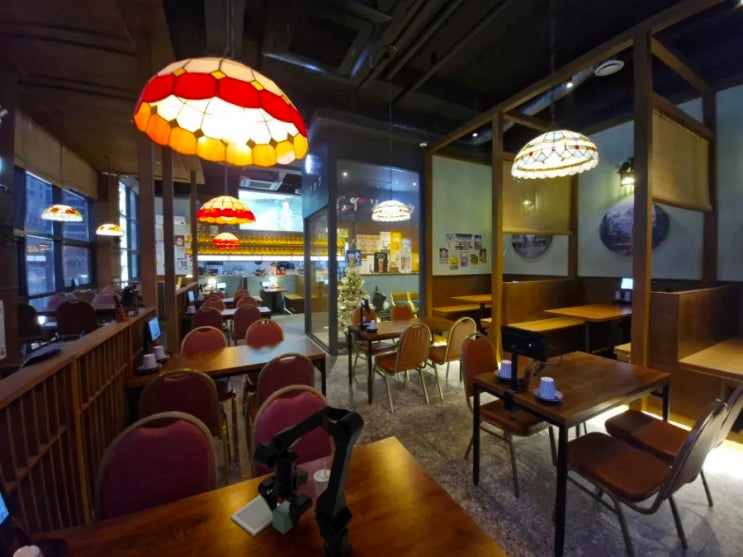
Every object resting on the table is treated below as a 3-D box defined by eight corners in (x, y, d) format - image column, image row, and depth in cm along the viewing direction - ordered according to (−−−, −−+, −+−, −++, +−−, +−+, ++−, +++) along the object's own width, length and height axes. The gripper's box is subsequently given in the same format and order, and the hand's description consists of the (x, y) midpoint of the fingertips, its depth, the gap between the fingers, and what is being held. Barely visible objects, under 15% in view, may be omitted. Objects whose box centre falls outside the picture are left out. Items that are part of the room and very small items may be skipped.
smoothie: (329, 512, 101) (329, 469, 101) (310, 509, 102) (310, 467, 102) (335, 497, 107) (335, 457, 107) (317, 495, 109) (317, 455, 108)
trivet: (286, 510, 102) (286, 507, 102) (254, 536, 92) (254, 533, 92) (262, 495, 108) (262, 492, 108) (230, 518, 98) (230, 515, 98)
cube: (296, 523, 97) (296, 507, 97) (283, 534, 93) (283, 518, 93) (285, 515, 100) (285, 500, 100) (272, 526, 96) (272, 510, 95)
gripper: (325, 468, 97) (325, 517, 98) (284, 448, 107) (284, 493, 108) (298, 489, 88) (298, 543, 88) (256, 466, 98) (257, 514, 99)
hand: (284, 521), depth 96 cm, fingers open, 9 cm apart
